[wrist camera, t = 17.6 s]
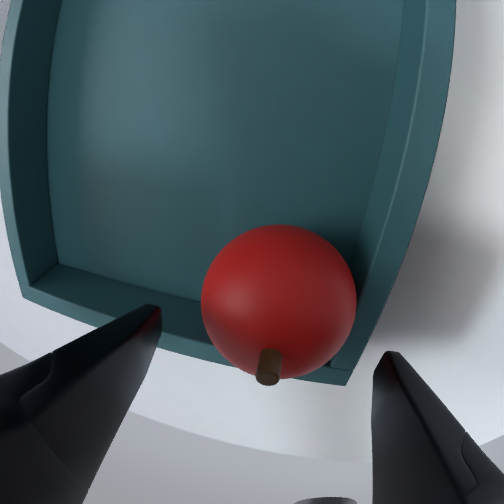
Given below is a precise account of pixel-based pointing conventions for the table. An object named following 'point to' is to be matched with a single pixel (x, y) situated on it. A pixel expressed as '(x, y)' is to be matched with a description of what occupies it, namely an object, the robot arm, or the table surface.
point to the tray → (214, 146)
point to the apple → (278, 302)
